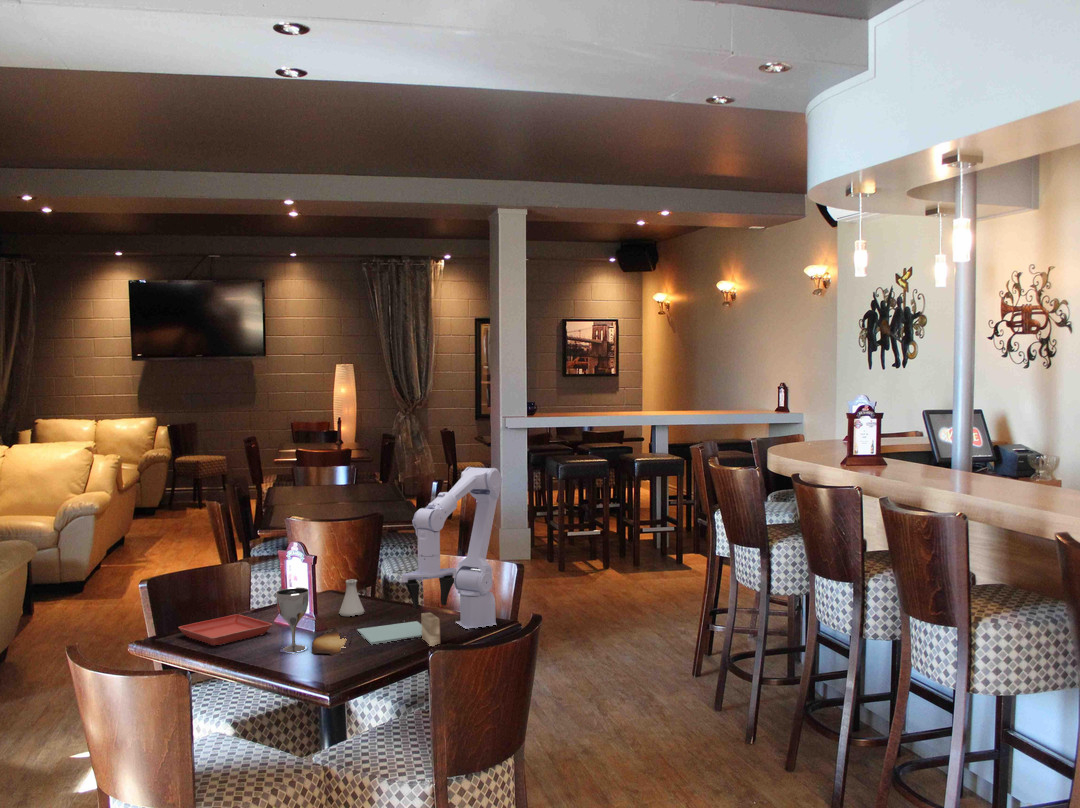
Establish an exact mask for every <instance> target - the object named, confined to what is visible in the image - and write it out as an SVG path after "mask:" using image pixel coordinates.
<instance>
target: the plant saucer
mask: <svg viewBox="0 0 1080 808" xmlns="http://www.w3.org/2000/svg"><path fill="white" fill-rule="evenodd" d="M272 626H273V623H270V622H267V621H264V620H261V619H256V618H253V617H249V616H245V615H243V614H232V615H226V616H222V617H218V618H212V619H209V620H203V621H199V622H194V623H189V624H184V625H180V626H178V630H180V632H181V633H182V634H184V636H185V637H187V638H188V637H189V638H188V639H191V638H192V639H191V640H194V639H196V640H195V641H197V640H199V641H198V642H200V641H202V642H201V643H203V642H205V643H204V644H206V643H208V644H207V645H209V644H211V645H210V646H212V645H220V644H223V643H228V642H232V643H234V642H233V641H236V642H238V641H237V640H240V641H242V640H241V639H244V640H247V639H246V638H248V639H251V638H250V637H252V638H255V637H254V636H256V637H258V636H257V635H260V636H262V635H261V634H263V635H265V634H266V633H267V632H268V630H270V629H271V627H272ZM228 644H229V643H228ZM220 646H221V645H220Z"/></svg>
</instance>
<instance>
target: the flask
mask: <svg viewBox="0 0 1080 808" xmlns="http://www.w3.org/2000/svg"><path fill="white" fill-rule="evenodd" d="M357 583H358V580H357V579H346V580H345V585H346V588H345V594H344V597H343V600H342V604H341V607H340V609H339V612H338V615H339V614H340V615H339V616H342V617H350V616H352V617H356V616H355V615H358V616H361V615H363V614H365V613H366V611H365V608H364V606H363V605H362V601H361V599H360V596H359V594H358V589H357ZM364 612H365V613H364Z"/></svg>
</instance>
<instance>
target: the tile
mask: <svg viewBox="0 0 1080 808" xmlns="http://www.w3.org/2000/svg"><path fill="white" fill-rule="evenodd" d="M420 614H421V615H420V617H421V623H420V624H421V625H422V638H421V640H422V639H423V640H425V641H426V642H427V643H428V644H429V645H428V644H427V645H428V646H429V647H430V646H432V647H436V646H435V645H437V644H440V645H441V619H440V618H439V617H438V616H437V615H435V614H433V612H431V611H430V612H423V613H420ZM423 640H422V641H423Z"/></svg>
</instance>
